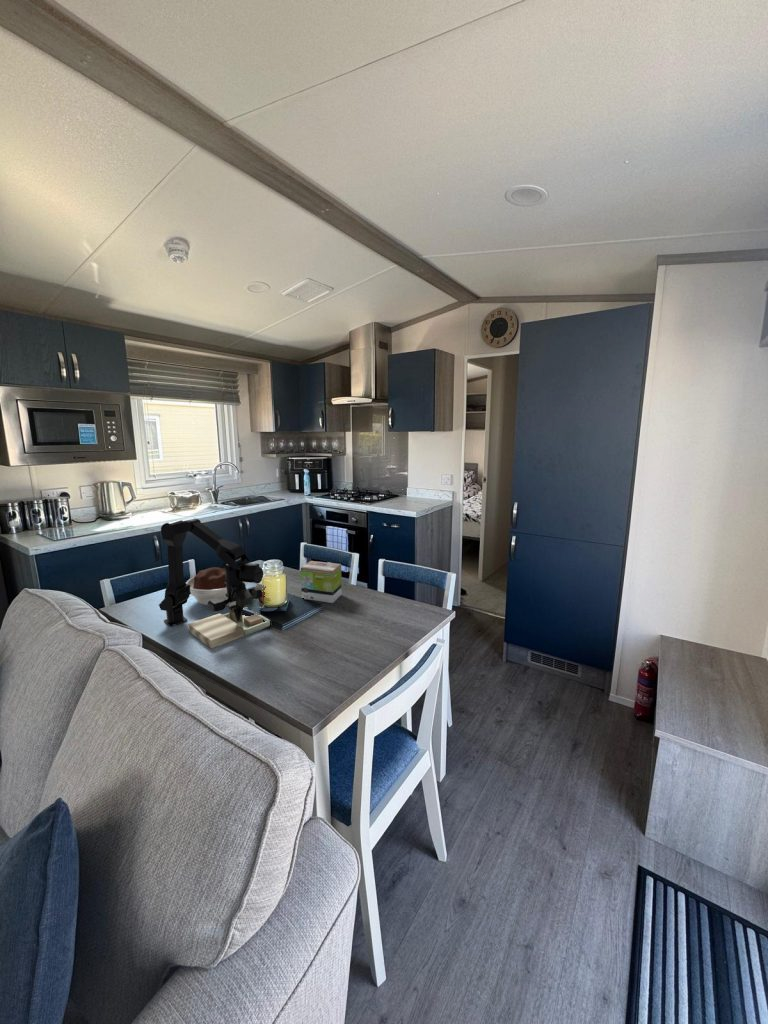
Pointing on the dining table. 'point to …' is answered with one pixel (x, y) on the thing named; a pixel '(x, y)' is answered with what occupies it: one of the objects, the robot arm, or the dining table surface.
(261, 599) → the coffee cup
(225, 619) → the birch bench plate
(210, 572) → the white serving bowl
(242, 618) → the walnut tile
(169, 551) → the robot arm
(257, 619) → the walnut tile
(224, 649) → the dining table surface
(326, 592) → the tea box
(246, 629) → the tray
